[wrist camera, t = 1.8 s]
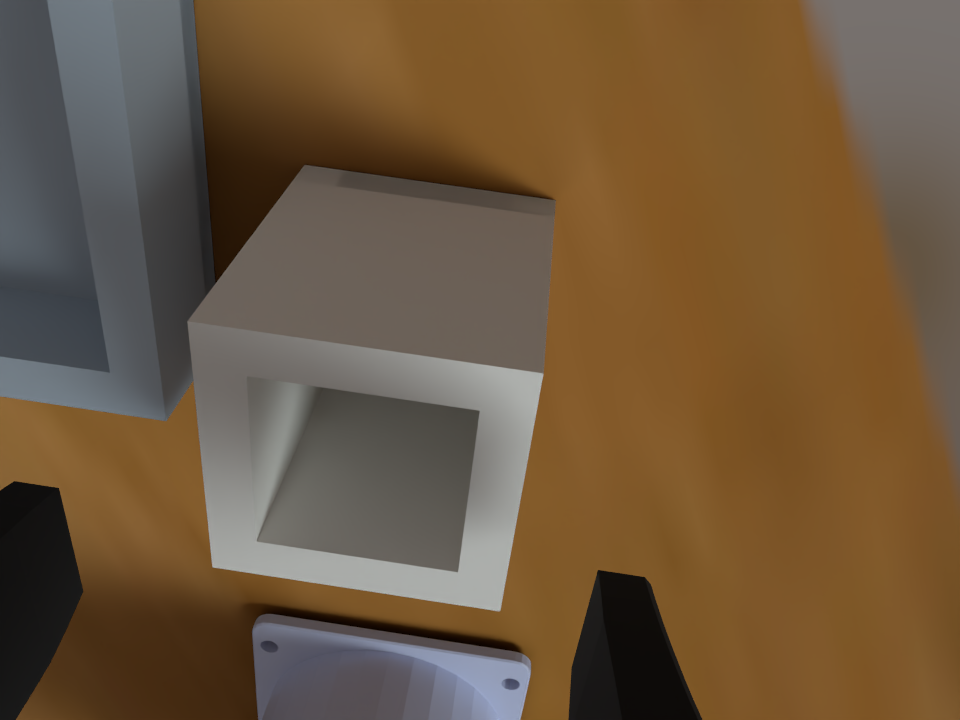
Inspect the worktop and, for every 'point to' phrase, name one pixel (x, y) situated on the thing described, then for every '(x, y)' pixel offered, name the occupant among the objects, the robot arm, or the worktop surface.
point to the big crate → (101, 203)
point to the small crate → (375, 385)
